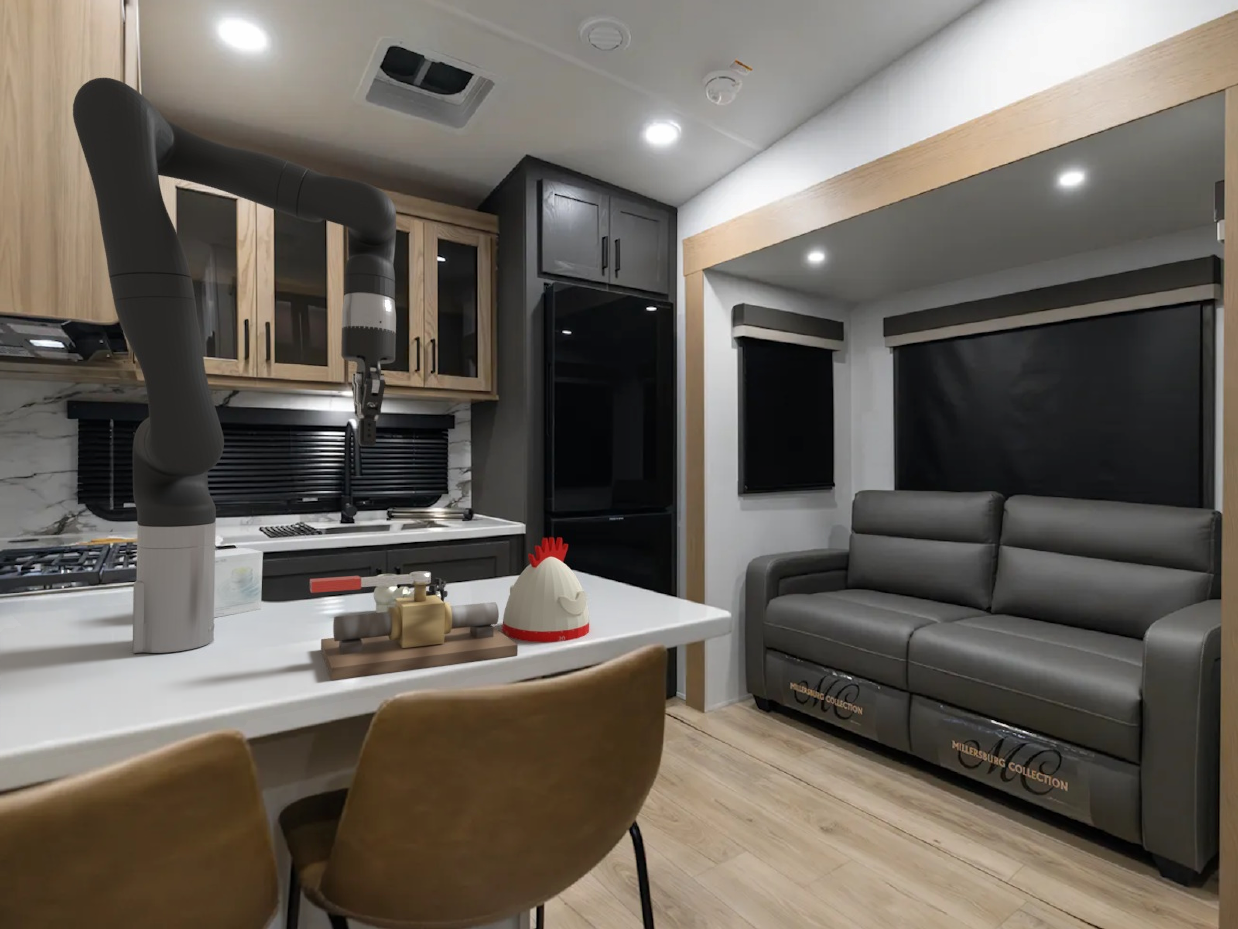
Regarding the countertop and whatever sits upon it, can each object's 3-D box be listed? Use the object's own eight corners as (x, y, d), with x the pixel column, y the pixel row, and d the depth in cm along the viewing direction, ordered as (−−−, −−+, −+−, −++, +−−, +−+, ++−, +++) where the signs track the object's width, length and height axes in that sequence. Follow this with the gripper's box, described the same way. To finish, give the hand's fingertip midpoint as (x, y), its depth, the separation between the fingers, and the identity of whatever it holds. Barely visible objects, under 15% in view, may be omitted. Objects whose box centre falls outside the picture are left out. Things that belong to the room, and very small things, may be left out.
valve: (364, 617, 112) (431, 621, 110) (365, 578, 112) (432, 581, 110) (384, 608, 118) (447, 612, 117) (384, 571, 118) (448, 575, 117)
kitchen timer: (606, 630, 107) (608, 538, 106) (545, 648, 96) (548, 545, 96) (546, 615, 115) (548, 530, 115) (484, 630, 105) (486, 536, 105)
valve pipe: (331, 680, 80) (332, 602, 80) (321, 649, 92) (322, 582, 92) (517, 655, 92) (518, 587, 92) (486, 631, 104) (487, 571, 104)
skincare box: (199, 621, 106) (200, 557, 106) (179, 615, 109) (180, 553, 109) (263, 609, 115) (264, 549, 115) (242, 604, 118) (243, 546, 118)
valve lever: (427, 580, 94) (428, 570, 94) (432, 584, 91) (433, 573, 91) (309, 589, 86) (309, 578, 86) (311, 593, 84) (311, 582, 84)
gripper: (405, 324, 94) (403, 446, 94) (385, 338, 105) (383, 446, 105) (349, 318, 90) (347, 444, 90) (335, 332, 101) (333, 445, 101)
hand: (366, 445), depth 98 cm, fingers closed
